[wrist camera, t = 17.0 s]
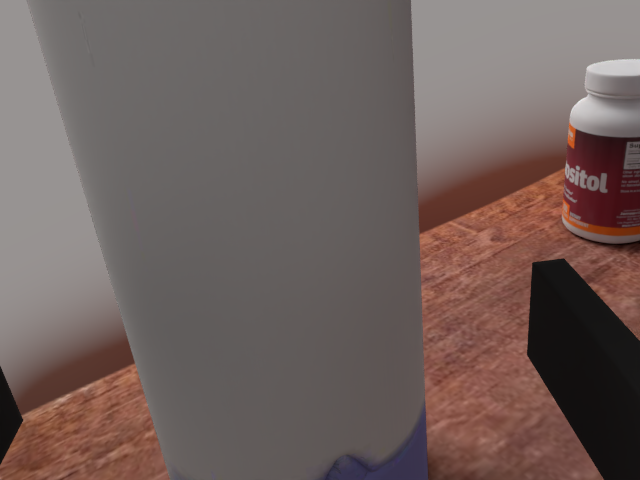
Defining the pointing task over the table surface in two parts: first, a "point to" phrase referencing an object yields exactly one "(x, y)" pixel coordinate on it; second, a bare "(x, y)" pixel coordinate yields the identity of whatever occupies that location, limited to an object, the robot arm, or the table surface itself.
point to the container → (256, 224)
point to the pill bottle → (605, 156)
